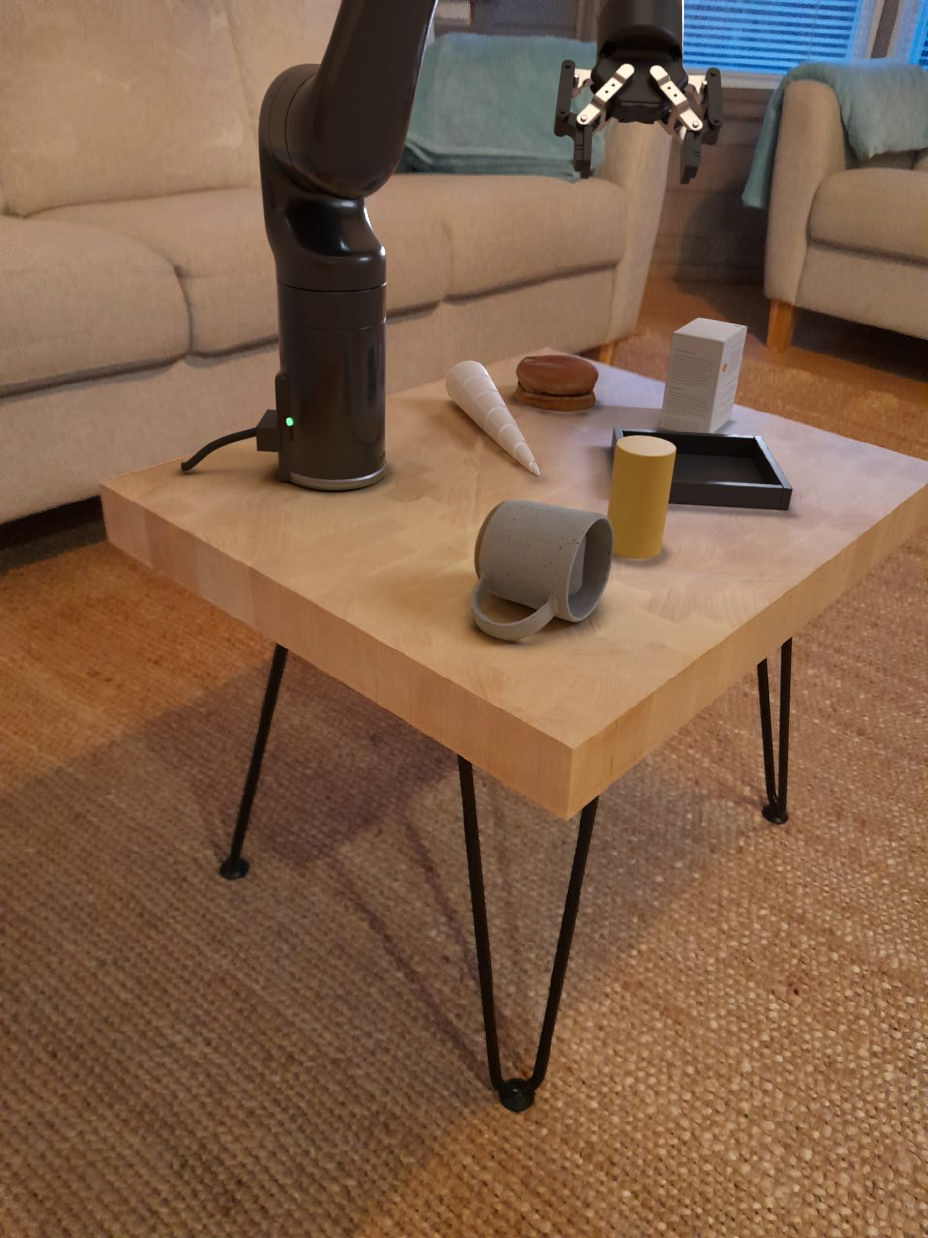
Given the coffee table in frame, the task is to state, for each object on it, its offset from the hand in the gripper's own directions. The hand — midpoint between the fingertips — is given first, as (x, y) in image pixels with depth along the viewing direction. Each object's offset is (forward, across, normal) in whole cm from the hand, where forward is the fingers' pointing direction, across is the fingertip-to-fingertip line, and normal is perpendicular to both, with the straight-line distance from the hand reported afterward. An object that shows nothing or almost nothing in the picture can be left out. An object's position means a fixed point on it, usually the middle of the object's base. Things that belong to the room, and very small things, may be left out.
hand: (636, 175), depth 88 cm
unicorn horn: (+14, -10, +23) cm, 29 cm away
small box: (+9, +11, +28) cm, 31 cm away
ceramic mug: (+40, -7, -3) cm, 41 cm away
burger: (+5, -4, +32) cm, 33 cm away
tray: (+20, +8, +16) cm, 28 cm away
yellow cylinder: (+32, +1, +5) cm, 32 cm away
